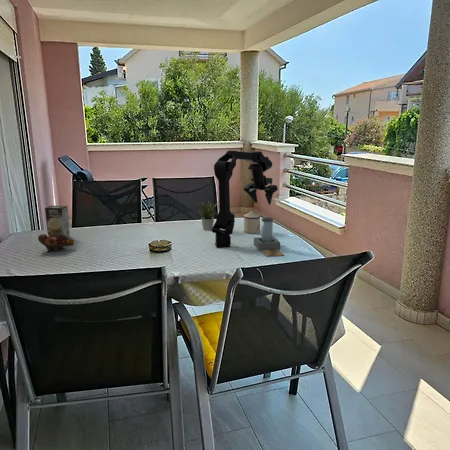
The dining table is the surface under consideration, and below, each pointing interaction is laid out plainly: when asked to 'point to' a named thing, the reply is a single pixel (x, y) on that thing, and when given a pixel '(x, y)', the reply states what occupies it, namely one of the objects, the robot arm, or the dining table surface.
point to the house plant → (207, 216)
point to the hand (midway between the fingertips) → (263, 203)
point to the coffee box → (57, 220)
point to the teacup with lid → (251, 223)
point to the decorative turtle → (55, 241)
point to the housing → (266, 244)
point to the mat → (272, 252)
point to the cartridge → (267, 229)
